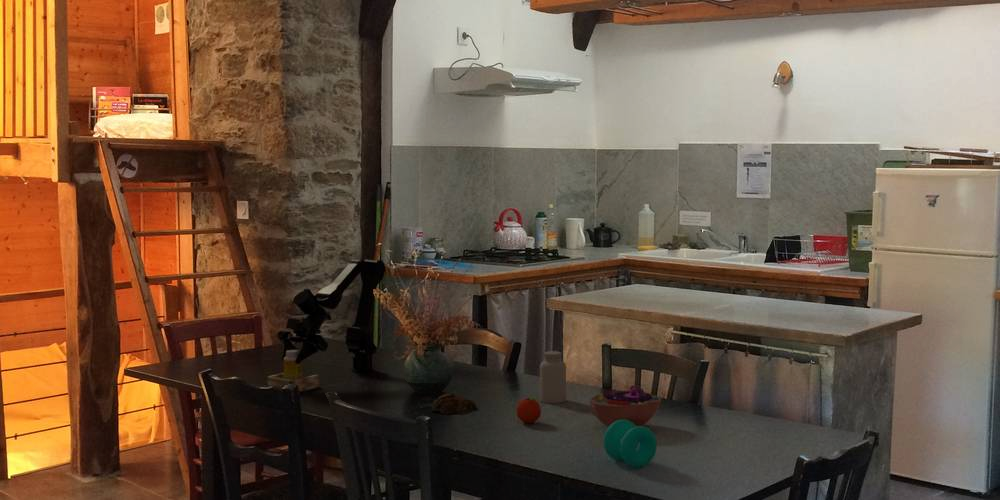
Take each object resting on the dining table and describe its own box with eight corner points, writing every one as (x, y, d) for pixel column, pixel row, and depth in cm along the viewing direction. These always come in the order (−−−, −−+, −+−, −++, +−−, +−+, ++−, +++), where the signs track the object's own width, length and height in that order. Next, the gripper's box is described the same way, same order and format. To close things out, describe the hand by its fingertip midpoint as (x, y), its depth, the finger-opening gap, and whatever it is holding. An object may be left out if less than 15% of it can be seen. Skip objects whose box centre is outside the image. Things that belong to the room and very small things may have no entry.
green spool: (634, 455, 256) (634, 416, 255) (659, 465, 247) (659, 425, 246) (601, 461, 251) (601, 421, 251) (624, 472, 243) (625, 430, 242)
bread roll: (446, 403, 313) (446, 387, 313) (481, 408, 307) (481, 391, 306) (422, 411, 302) (422, 395, 302) (457, 417, 296) (457, 400, 295)
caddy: (292, 382, 341) (292, 370, 341) (319, 386, 334) (319, 374, 334) (265, 389, 331) (265, 376, 331) (292, 393, 325) (292, 381, 324)
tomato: (538, 418, 293) (538, 393, 292) (548, 424, 286) (548, 399, 286) (512, 421, 290) (512, 396, 289) (522, 427, 284) (521, 401, 283)
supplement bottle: (300, 383, 330) (299, 352, 329) (283, 384, 330) (282, 352, 329) (303, 379, 336) (302, 348, 335) (285, 380, 335) (284, 349, 334)
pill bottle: (535, 402, 312) (535, 353, 311) (546, 397, 319) (546, 349, 318) (559, 405, 308) (559, 355, 307) (570, 399, 316) (570, 351, 314)
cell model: (578, 423, 287) (578, 383, 286) (642, 417, 294) (642, 378, 293) (606, 439, 271) (606, 396, 270) (672, 431, 278) (672, 390, 277)
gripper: (279, 306, 339) (255, 344, 331) (320, 310, 329) (296, 350, 321) (297, 326, 346) (274, 364, 338) (338, 331, 336) (315, 370, 328)
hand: (289, 362), depth 331 cm, fingers closed on supplement bottle, 5 cm apart
